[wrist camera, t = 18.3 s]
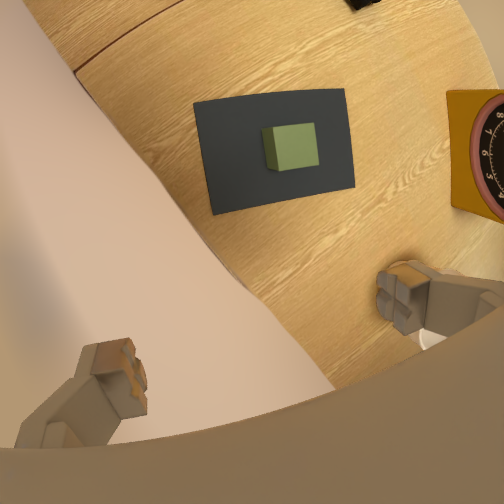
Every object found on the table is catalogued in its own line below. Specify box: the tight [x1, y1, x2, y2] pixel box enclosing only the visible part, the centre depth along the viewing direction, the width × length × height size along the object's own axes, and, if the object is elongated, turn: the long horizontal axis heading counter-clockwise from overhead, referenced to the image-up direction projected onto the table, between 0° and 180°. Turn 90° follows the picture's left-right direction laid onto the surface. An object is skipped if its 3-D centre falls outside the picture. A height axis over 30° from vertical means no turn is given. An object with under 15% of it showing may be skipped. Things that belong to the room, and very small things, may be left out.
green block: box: [262, 123, 319, 171], centre depth 37 cm, size 5×5×4 cm
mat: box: [193, 88, 355, 215], centre depth 39 cm, size 20×14×1 cm
